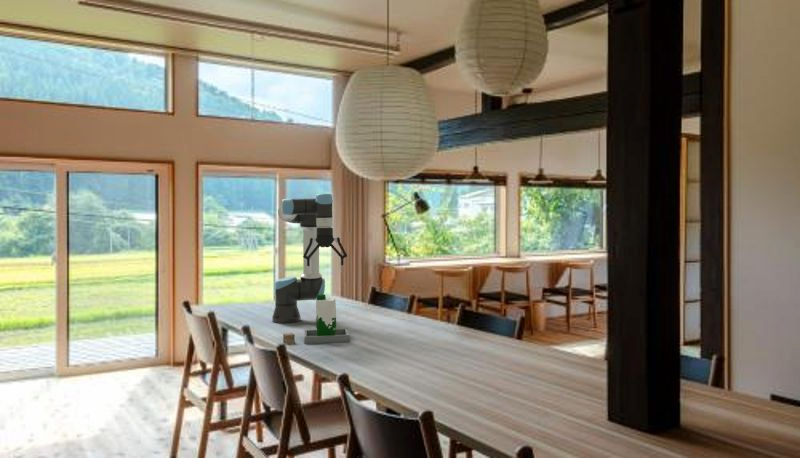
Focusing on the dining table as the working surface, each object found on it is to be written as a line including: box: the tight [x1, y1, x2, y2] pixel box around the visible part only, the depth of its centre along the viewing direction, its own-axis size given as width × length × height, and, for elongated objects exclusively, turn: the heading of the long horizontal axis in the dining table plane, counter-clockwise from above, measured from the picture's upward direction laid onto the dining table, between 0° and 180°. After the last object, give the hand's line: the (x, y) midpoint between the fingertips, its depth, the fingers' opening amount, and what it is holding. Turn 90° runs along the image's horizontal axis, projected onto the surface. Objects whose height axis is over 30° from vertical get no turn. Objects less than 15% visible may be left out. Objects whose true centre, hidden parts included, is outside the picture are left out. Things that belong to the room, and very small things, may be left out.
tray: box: [303, 328, 350, 345], centre depth 283 cm, size 16×20×3 cm
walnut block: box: [282, 332, 296, 345], centre depth 277 cm, size 4×4×4 cm
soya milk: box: [315, 293, 337, 336], centre depth 283 cm, size 9×9×20 cm
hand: (325, 273), depth 283 cm, fingers open, 13 cm apart
